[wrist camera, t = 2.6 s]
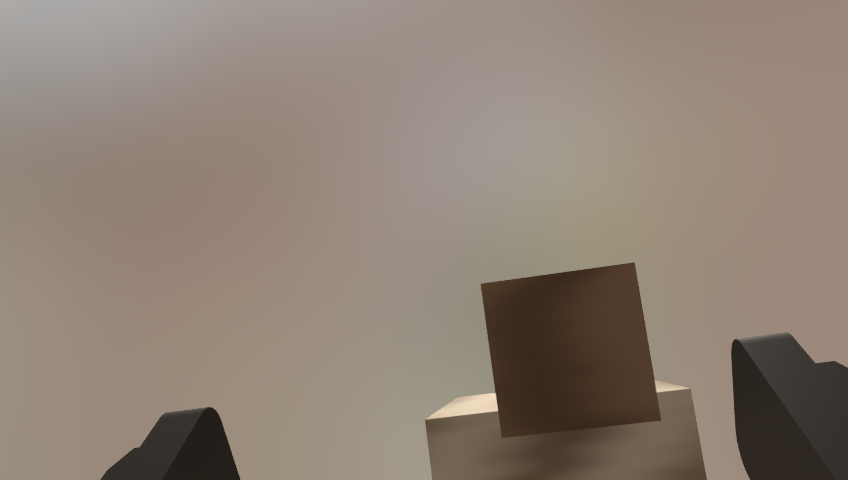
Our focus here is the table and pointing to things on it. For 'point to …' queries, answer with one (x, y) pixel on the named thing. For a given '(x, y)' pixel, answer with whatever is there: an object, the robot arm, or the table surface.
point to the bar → (570, 351)
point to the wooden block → (566, 445)
